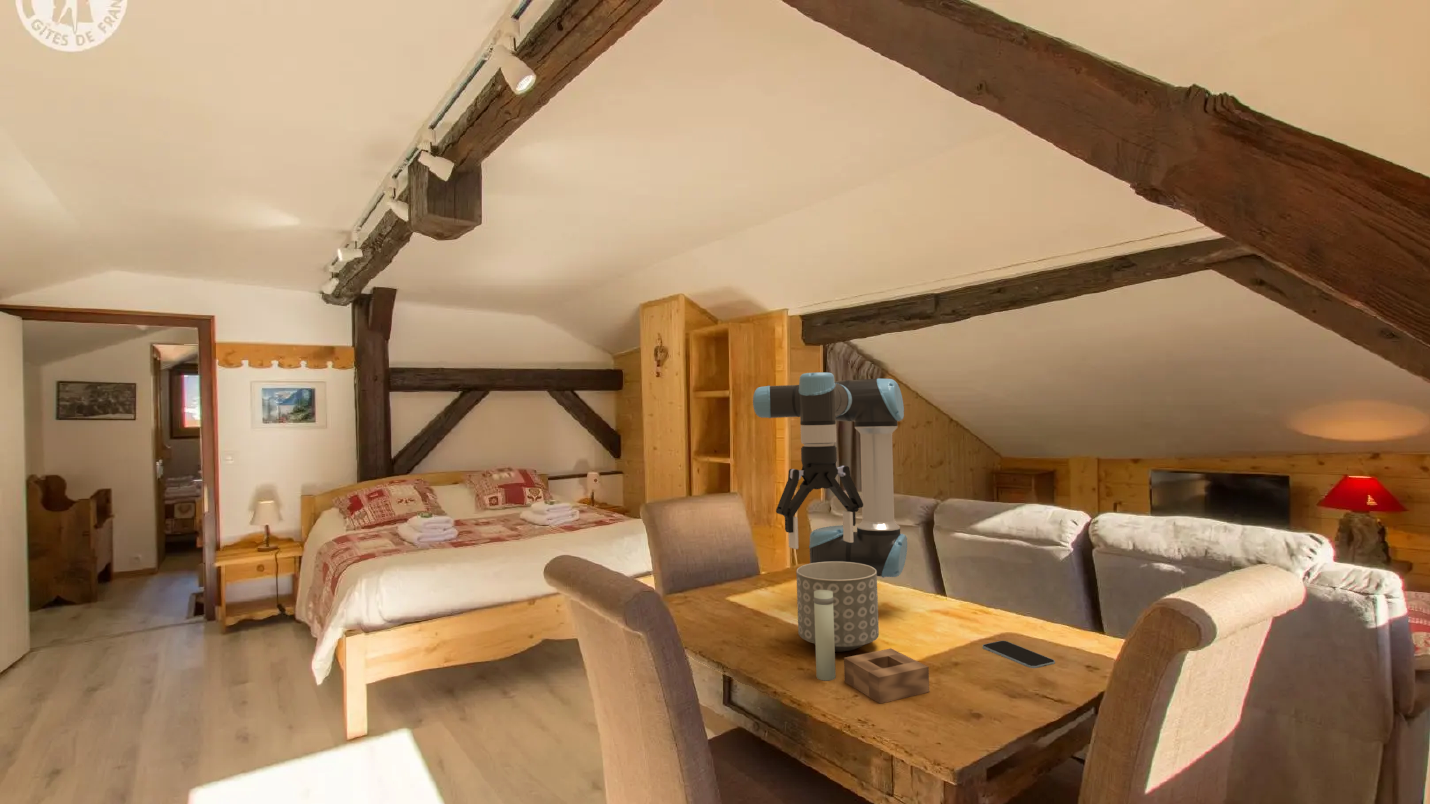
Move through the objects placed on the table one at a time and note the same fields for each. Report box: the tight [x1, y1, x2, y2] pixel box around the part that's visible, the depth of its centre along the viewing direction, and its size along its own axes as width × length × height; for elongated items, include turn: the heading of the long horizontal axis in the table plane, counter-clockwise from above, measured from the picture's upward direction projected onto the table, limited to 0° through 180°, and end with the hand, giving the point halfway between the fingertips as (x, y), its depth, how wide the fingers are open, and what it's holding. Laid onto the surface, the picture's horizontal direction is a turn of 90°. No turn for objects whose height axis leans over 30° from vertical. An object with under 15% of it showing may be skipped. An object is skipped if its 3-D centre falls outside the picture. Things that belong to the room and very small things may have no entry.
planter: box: [795, 562, 880, 653], centre depth 166 cm, size 19×19×18 cm
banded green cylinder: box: [814, 590, 837, 682], centre depth 148 cm, size 4×4×18 cm
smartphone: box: [982, 640, 1056, 669], centre depth 157 cm, size 7×1×15 cm
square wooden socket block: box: [843, 648, 930, 704], centre depth 141 cm, size 12×12×5 cm
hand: (821, 544), depth 148 cm, fingers open, 13 cm apart
